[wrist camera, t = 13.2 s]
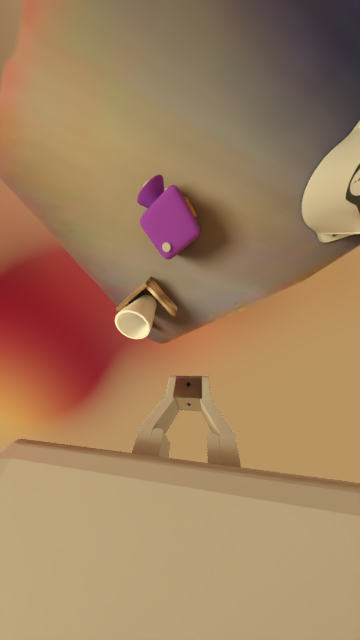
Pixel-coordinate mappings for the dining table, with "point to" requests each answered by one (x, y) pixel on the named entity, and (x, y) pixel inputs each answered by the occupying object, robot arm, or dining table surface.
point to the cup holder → (156, 292)
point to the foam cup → (137, 317)
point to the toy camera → (167, 217)
